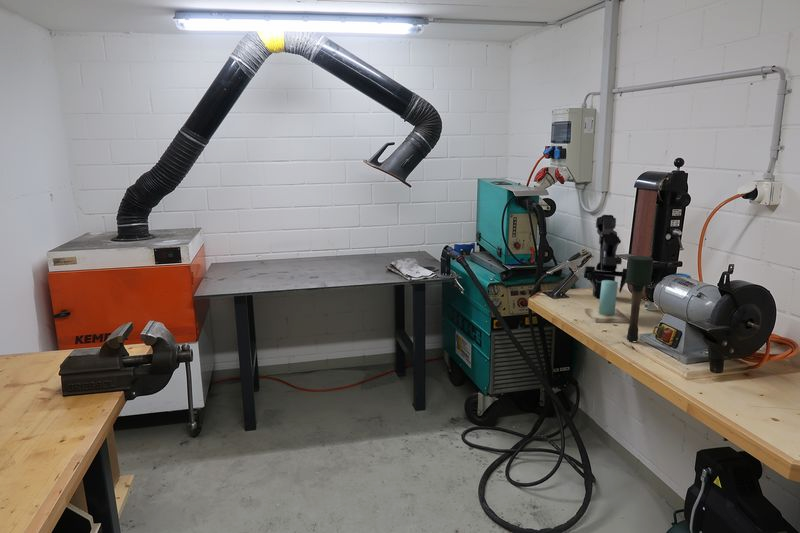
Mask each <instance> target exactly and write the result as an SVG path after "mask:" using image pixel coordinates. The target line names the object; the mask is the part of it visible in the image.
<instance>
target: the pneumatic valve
mask: <svg viewBox="0 0 800 533" xmlns="http://www.w3.org/2000/svg"><path fill="white" fill-rule="evenodd" d="M642 300H643V301H645V303H644V309H645V310H648V311H649V312H653V311H655V312H656V311H658V308H657V307H656V306H655V305H654V303H653V302H650V301H648V300H645V299H643V298H642V299H641V301H642Z"/></svg>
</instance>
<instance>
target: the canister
mask: <svg viewBox="0 0 800 533" xmlns="http://www.w3.org/2000/svg"><path fill="white" fill-rule="evenodd" d="M618 284H619V283H618V281H616V280H615V281H611V280H603V281H602V282H601V293H600V298H599V303H598V304H599V307H598V309H599V314H602V315H607V316H612V315H614V314H615V309H616V304H617V303H616V302H617V294H618V293H617V292H618V286H619V285H618Z"/></svg>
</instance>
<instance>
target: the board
mask: <svg viewBox="0 0 800 533" xmlns="http://www.w3.org/2000/svg"><path fill="white" fill-rule="evenodd" d="M584 313H585V314H586V315H587V316H588V317H590V318H591V320H593V321H594V322H595V323H630V317H628V316H626V315H625V314H624V313H623V312H622V311H620V310H619V309H618V308H615V314H614V315H612V316H607V315H602V314H599V308H584Z"/></svg>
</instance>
